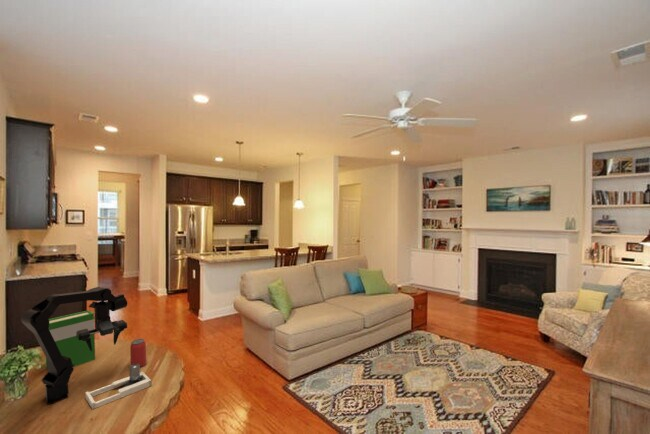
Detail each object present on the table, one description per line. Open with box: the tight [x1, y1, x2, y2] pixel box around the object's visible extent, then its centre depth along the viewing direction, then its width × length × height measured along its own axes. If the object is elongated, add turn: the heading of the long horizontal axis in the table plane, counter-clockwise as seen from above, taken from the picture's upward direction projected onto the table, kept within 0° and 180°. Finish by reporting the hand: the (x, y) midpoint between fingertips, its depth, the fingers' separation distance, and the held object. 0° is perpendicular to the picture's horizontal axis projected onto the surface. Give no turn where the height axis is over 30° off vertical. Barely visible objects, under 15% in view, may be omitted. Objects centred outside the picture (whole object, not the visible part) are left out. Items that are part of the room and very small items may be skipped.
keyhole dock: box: [85, 371, 152, 410], centre depth 136 cm, size 22×11×2 cm, turn 138°
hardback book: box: [45, 310, 96, 371], centre depth 158 cm, size 18×7×24 cm, turn 142°
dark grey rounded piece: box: [125, 364, 143, 387], centre depth 140 cm, size 7×7×9 cm
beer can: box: [129, 338, 147, 368], centre depth 158 cm, size 7×7×12 cm
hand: (103, 347), depth 148 cm, fingers open, 9 cm apart
